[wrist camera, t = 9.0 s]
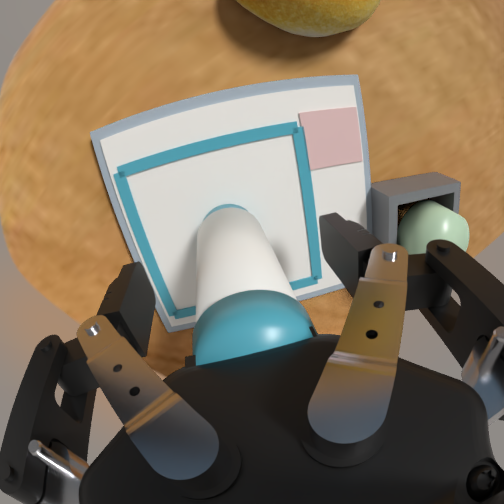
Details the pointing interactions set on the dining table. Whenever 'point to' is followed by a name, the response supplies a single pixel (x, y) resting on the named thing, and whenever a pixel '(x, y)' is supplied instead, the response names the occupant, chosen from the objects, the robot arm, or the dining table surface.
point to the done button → (431, 227)
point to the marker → (241, 290)
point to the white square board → (238, 178)
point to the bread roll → (312, 14)
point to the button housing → (409, 199)
